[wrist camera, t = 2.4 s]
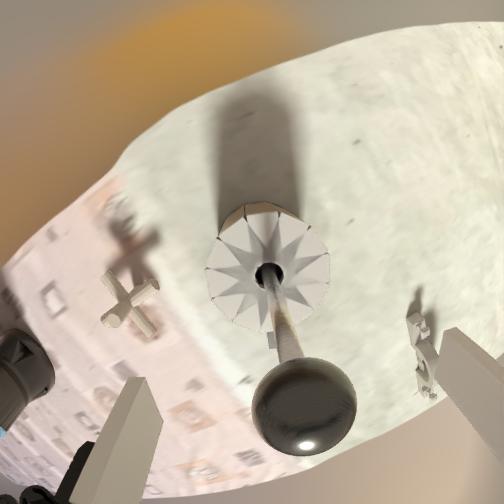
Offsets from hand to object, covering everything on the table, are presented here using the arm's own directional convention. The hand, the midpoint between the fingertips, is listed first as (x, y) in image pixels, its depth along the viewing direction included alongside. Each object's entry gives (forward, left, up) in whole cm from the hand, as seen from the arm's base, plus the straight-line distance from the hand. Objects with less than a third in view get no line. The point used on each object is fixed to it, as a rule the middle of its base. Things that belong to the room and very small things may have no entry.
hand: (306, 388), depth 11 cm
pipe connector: (-18, -5, -29) cm, 35 cm away
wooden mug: (0, -2, -29) cm, 29 cm away
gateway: (+26, -25, -30) cm, 47 cm away
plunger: (0, 0, -19) cm, 19 cm away
